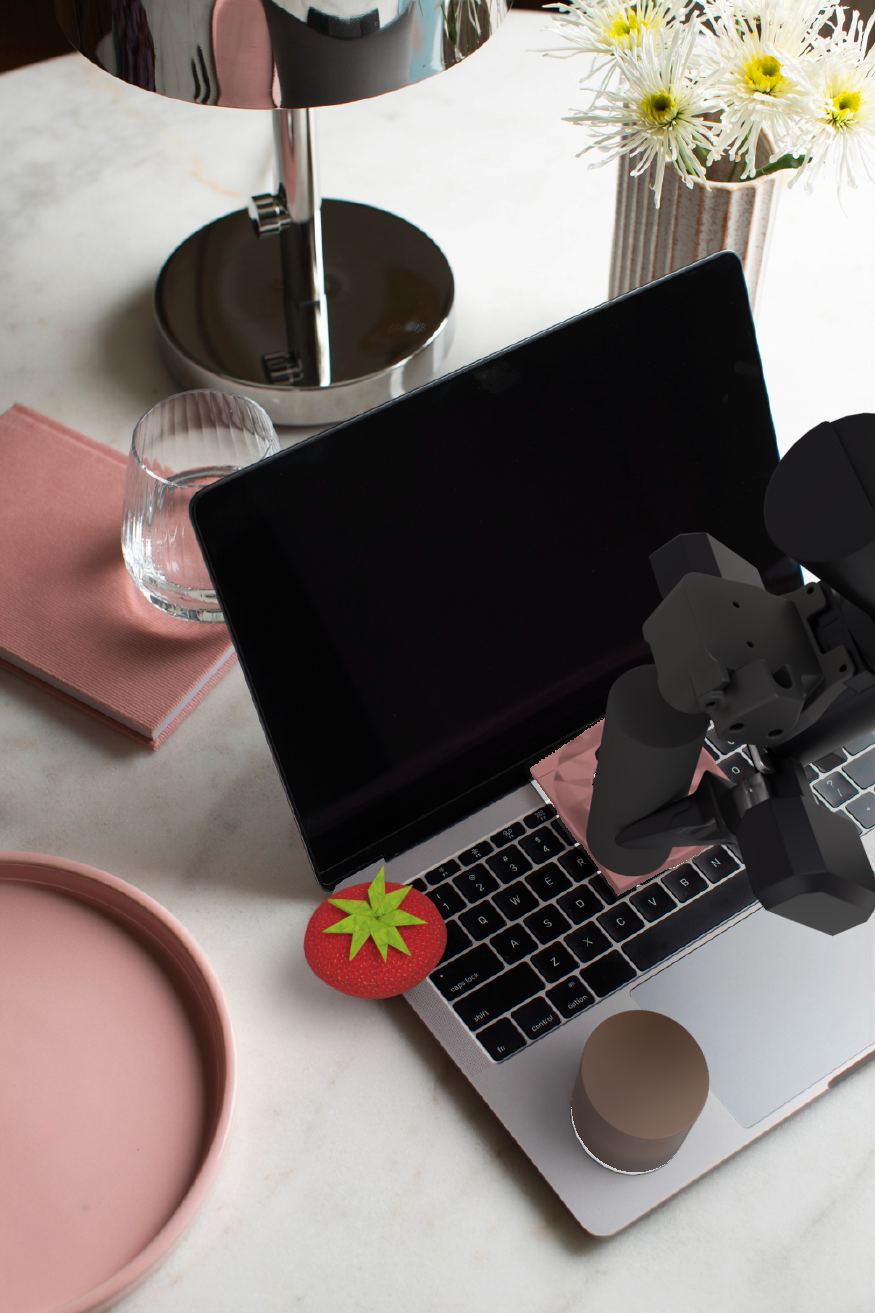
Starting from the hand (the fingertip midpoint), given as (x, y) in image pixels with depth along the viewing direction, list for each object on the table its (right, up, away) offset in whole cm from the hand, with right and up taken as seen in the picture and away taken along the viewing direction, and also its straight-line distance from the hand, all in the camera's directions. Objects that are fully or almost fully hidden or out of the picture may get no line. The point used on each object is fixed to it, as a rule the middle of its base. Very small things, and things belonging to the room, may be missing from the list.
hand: (610, 800), depth 55 cm
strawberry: (-11, -11, +9) cm, 18 cm away
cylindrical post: (+1, -2, +3) cm, 4 cm away
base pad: (+4, -2, +15) cm, 16 cm away
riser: (+2, -17, +4) cm, 17 cm away
